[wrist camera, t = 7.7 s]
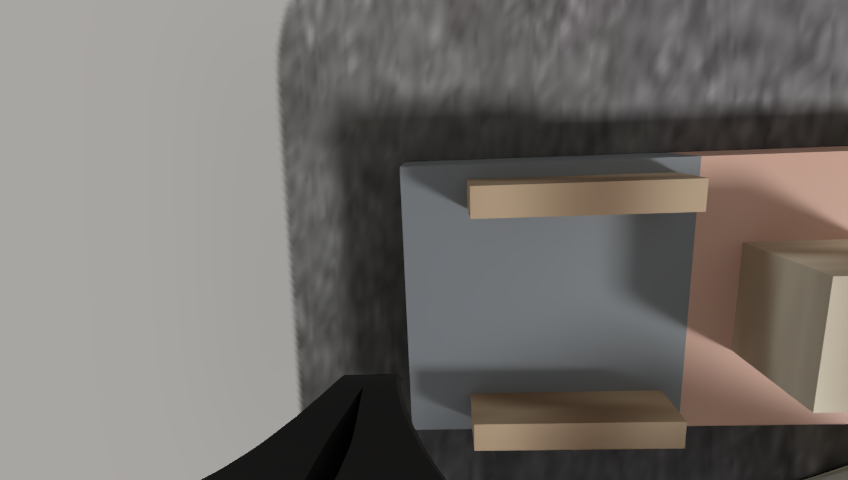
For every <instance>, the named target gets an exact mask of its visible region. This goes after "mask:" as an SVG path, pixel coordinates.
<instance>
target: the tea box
mask: <svg viewBox="0 0 848 480" xmlns="http://www.w3.org/2000/svg"><path fill="white" fill-rule="evenodd" d="M805 480H848V466H845V467H842V468H839V469H836V470H833V471H830V472H827V473H824V474H821V475H817V476H814V477H811V478H808V479H805Z"/></svg>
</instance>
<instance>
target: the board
mask: <svg viewBox="0 0 848 480" xmlns="http://www.w3.org/2000/svg"><path fill="white" fill-rule="evenodd" d="M668 172H679V173H684V174H689V175H695V176H700V177H705V178H709V181H708V193H707V204H706V212H682V213H650V214H618V215H585V216H553V217H521V218H488V219H470V216H469V213H468V210H467V181H466V179H493V178H522V177H551V176H580V175H609V174H639V173H668ZM400 186H401V207H402V228H403V248H404V269H405V290H406V311H407V331H408V352H409V373H410V394H411V415H412V423H413V426H414V428H415V430H439V429H472V423H471V395H470V393H525V392H586V391H647V390H661V391H662V392H663V393H664V395H665V396H666V397H667V398H668V399H669V401H670V402H671V403H672V404H673V405H674V407H675V408H676V409H677V410H678V411H679V413H680V414H681V415H682V416H683V417H684V419H685V420H686V421H687V426H737V425H812V424H848V412H836V413H813V412H811V411H810V410H809V409H807V408H806V407H805V406H803V405H802V404H801V403H800V402H798V401H797V400H796V399H794V398H793V397H792V396H790V395H789V394H788V393H786V392H785V391H784V390H783V389H781V388H780V387H779V386H777V385H776V384H775V383H773V382H772V381H771V380H770V379H768V378H767V377H766V376H764V375H763V374H762V373H760V372H759V371H758V370H756V369H755V368H754V367H753V366H751V365H750V364H749V363H747V362H746V361H745V360H743V359H742V358H741V357H740V356H738V355H737V354H736V353H734V352H733V351H732V342H733V332H734V323H735V313H736V303H737V294H738V284H739V275H740V265H741V255H742V246H743V242H765V241H797V240H829V239H848V146H835V147H807V148H779V149H751V150H723V151H695V152H667V153H639V154H611V155H584V156H556V157H528V158H500V159H472V160H444V161H416V162H404V163H403V164H402V165H401V166H400Z"/></svg>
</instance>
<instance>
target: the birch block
mask: <svg viewBox="0 0 848 480" xmlns="http://www.w3.org/2000/svg"><path fill="white" fill-rule="evenodd" d="M732 351H733V352H734V353H736V354H737V355H738V356H740V357H741V358H742V359H743V360H745V361H746V362H747V363H749V364H750V365H751V366H753V367H754V368H755V369H756V370H758V371H759V372H760V373H762V374H763V375H764V376H766V377H767V378H768V379H770V380H771V381H772V382H773V383H775V384H776V385H777V386H779V387H780V388H781V389H783V390H784V391H785V392H786V393H788V394H789V395H790V396H792V397H793V398H794V399H796V400H797V401H798V402H800V403H801V404H802V405H803V406H805V407H806V408H807V409H809V410H810V411H811V412H813V413H836V412H848V239H829V240H797V241H765V242H743V246H742V255H741V265H740V275H739V284H738V294H737V303H736V313H735V323H734V332H733V342H732Z"/></svg>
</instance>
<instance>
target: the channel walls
mask: <svg viewBox="0 0 848 480" xmlns="http://www.w3.org/2000/svg"><path fill="white" fill-rule="evenodd" d="M466 181H467V210H468V213H469V216H470V219H488V218H521V217H553V216H585V215H618V214H650V213H682V212H706V204H707V193H708V181H709V178H705V177H700V176H695V175H689V174H684V173H679V172H668V173H639V174H609V175H580V176H551V177H522V178H493V179H466ZM470 395H471V423H472V433H473V442H474V451H512V450H598V449H684V448H685V440H686V429H687V421H686V420H685V419H684V417H683V416H682V415H681V414H680V413H679V411H678V410H677V409H676V408H675V407H674V405H673V404H672V403H671V402H670V401H669V399H668V398H667V397H666V396H665V395H664V393H663V392H662V391H661V390H647V391H586V392H525V393H470Z"/></svg>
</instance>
